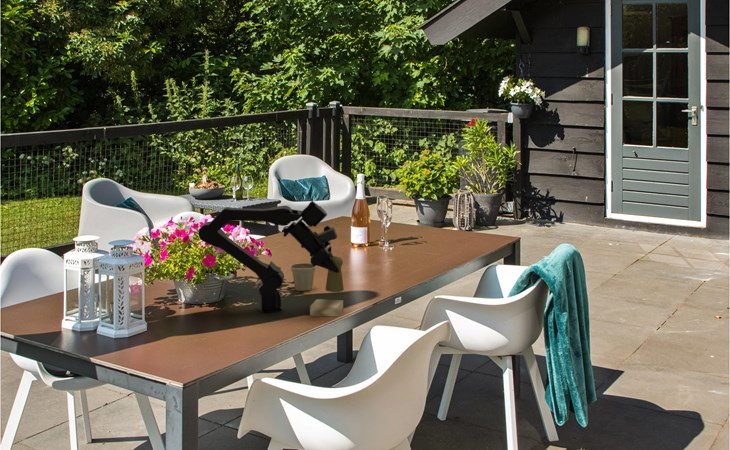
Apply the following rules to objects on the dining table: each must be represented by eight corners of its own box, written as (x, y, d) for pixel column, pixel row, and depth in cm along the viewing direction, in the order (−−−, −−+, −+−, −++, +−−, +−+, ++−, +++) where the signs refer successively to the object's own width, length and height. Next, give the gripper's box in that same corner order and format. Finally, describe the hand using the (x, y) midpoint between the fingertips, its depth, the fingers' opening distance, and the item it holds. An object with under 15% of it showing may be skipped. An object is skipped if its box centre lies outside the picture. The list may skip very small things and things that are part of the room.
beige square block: (310, 315, 308) (310, 306, 308) (316, 308, 317) (316, 299, 316) (337, 316, 307) (337, 307, 306) (343, 309, 315) (343, 300, 315)
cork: (337, 286, 318) (338, 254, 316) (347, 290, 313) (347, 257, 311) (322, 288, 315) (322, 256, 313) (331, 292, 310) (331, 259, 308)
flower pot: (316, 292, 337) (315, 268, 336) (289, 292, 338) (288, 268, 336) (317, 286, 347) (317, 262, 345) (291, 286, 347) (291, 263, 345)
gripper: (321, 224, 301) (355, 259, 302) (324, 214, 319) (356, 247, 321) (296, 248, 302) (330, 283, 304) (300, 237, 320) (333, 270, 322)
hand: (338, 270), depth 313 cm, fingers closed on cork, 5 cm apart
